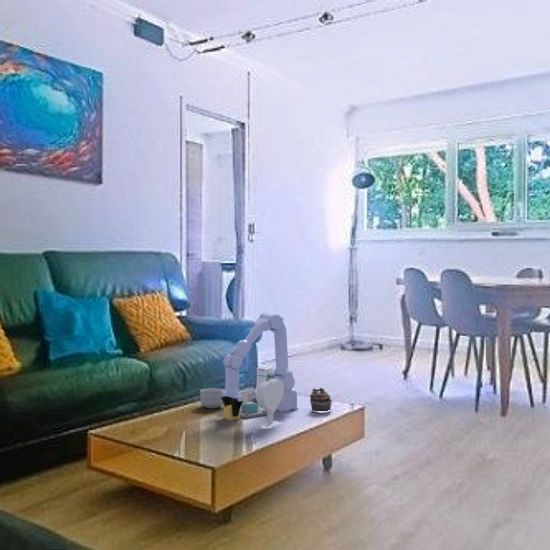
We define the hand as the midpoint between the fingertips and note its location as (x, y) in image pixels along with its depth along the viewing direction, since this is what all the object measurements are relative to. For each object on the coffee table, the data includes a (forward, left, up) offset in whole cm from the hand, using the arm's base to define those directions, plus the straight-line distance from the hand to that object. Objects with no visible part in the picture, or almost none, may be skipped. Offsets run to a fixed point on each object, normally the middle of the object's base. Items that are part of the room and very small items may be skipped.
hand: (232, 414), depth 259 cm
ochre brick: (0, 0, -1) cm, 1 cm away
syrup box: (-33, -25, -2) cm, 41 cm away
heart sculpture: (-8, +17, -2) cm, 19 cm away
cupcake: (-39, +11, -2) cm, 41 cm away
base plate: (-10, -2, -1) cm, 10 cm away
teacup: (-3, -20, -2) cm, 20 cm away
